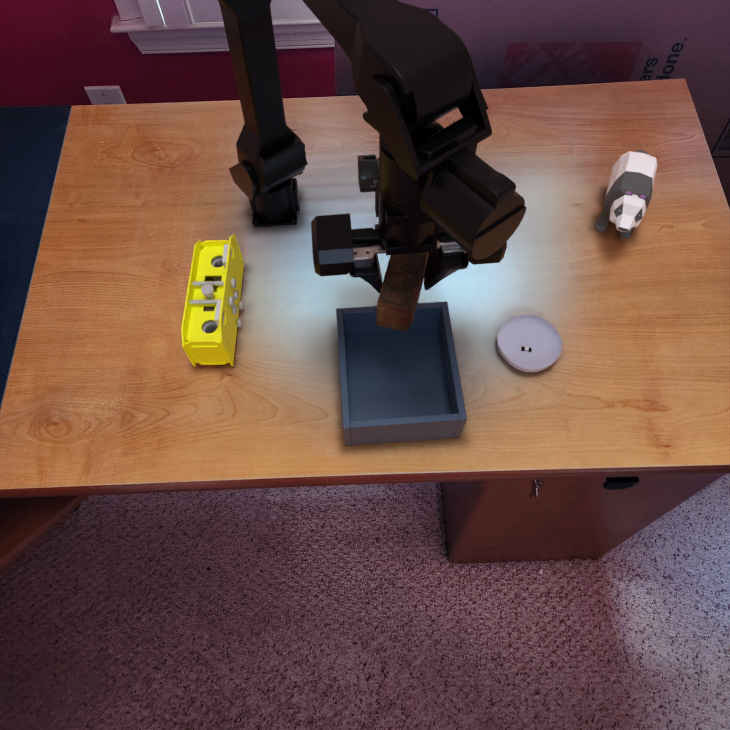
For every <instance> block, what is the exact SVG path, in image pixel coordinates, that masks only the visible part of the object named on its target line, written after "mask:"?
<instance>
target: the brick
mask: <svg viewBox="0 0 730 730" xmlns="http://www.w3.org/2000/svg"><path fill="white" fill-rule="evenodd" d="M428 255H429V252H425V253H412V254H399V255H389V259H388V263H387V266H386V269H385V273H384V277H383V279H382V282H383V284H382V287H381V290H380V294H379V293H378V294H379V295H378V298H377V304H376V306H377V308H376V310H377V311H376V312H377V314H376V319H377V320H376V321H377V322H376V323H377V326H380V327H384V328H389V329H394V330H398V331H403V332H406V331H407V330H408V329H409V327H410V326H411V325H412V323H413V320H414V315H415V311H416V307H417V303H419V300H420V295H421V290H422V287H423V284H424V272H425V268H426V264H427V259H428Z"/></svg>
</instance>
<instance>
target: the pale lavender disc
mask: <svg viewBox="0 0 730 730" xmlns="http://www.w3.org/2000/svg"><path fill="white" fill-rule="evenodd" d="M496 345H497V349H498V352H499V354H500V355H501V356H502V358H503V359H504V360H505V361H506V363H508V364H509V365H510V366H512V367H513V368H514V369H516V370H519V371H521V372H525V373H539V372H541V371H543V370H546V369H547V368H549V367H551V366H552V365H553V364H554V363H556V361H557V360H558V359H559V358H560V356H561V354H562V351H563V340H562V337H561V335H560V333H559V332H558V330H557V329H556V327H554V325H552V324H551V323H550V322H549V321H548V320H546V319H545V318H542V317H540V316H538V315H535V314H528V313H527V314H526V313H525V314H519V315H516V316H513V317H511V318H510V319H508V320H506V321H505V322H504V323H503V324H502V325H501V327H500V328H499V330H498V332H497V336H496Z"/></svg>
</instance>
